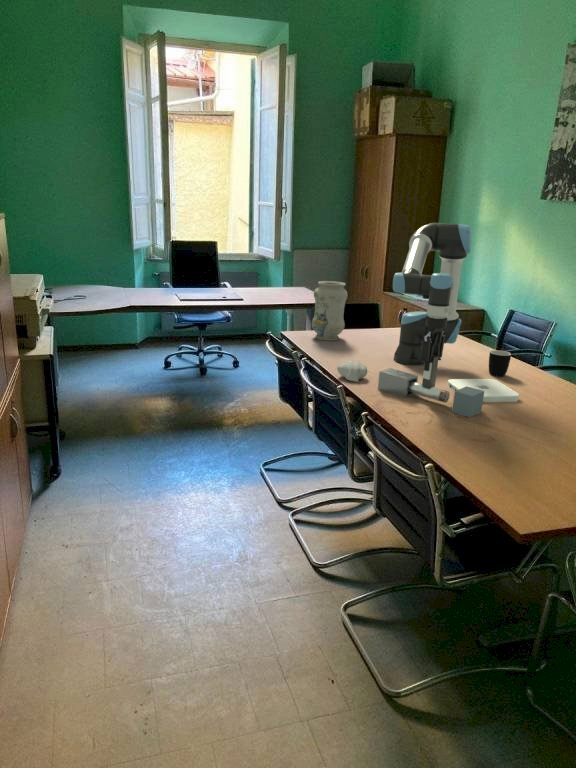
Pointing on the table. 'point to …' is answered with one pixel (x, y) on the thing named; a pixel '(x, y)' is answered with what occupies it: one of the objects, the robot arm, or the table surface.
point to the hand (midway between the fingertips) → (429, 377)
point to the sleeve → (396, 382)
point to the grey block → (468, 401)
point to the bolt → (429, 385)
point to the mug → (499, 362)
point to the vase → (329, 310)
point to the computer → (486, 389)
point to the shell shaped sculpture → (352, 370)
